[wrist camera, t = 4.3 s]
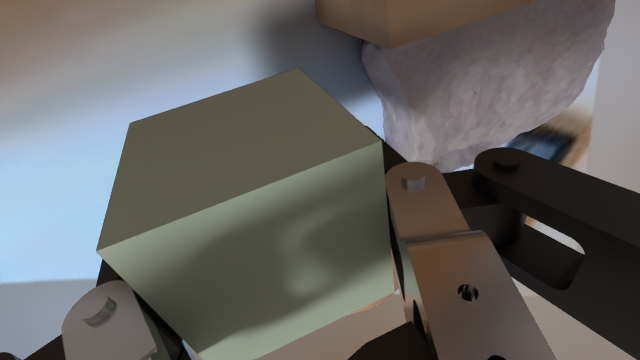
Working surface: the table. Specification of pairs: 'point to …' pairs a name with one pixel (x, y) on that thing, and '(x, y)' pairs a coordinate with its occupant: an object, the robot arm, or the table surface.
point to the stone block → (486, 79)
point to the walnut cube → (405, 17)
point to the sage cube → (251, 216)
